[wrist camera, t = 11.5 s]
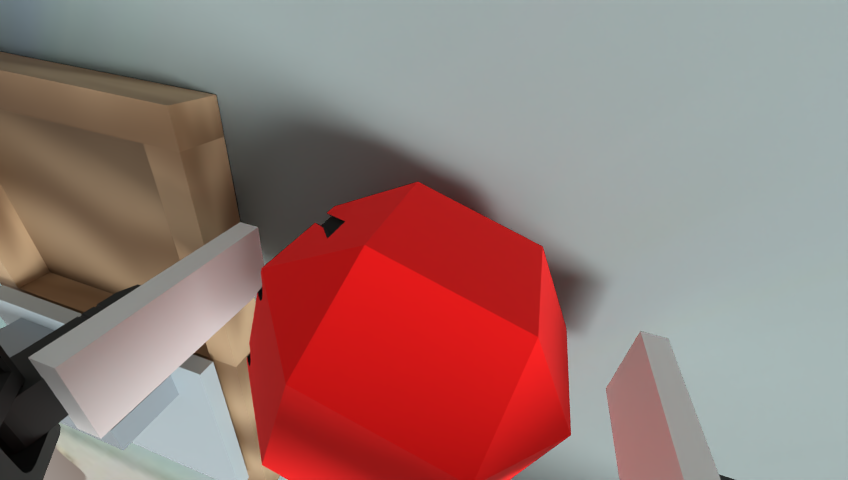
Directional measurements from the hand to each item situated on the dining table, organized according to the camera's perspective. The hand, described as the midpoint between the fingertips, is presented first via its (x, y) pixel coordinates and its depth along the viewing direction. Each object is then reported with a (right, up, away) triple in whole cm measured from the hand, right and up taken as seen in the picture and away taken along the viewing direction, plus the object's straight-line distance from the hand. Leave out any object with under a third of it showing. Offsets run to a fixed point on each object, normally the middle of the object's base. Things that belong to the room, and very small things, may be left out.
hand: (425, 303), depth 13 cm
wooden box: (-16, -2, +9) cm, 19 cm away
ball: (+1, +1, +2) cm, 2 cm away
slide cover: (-18, -7, +10) cm, 21 cm away
